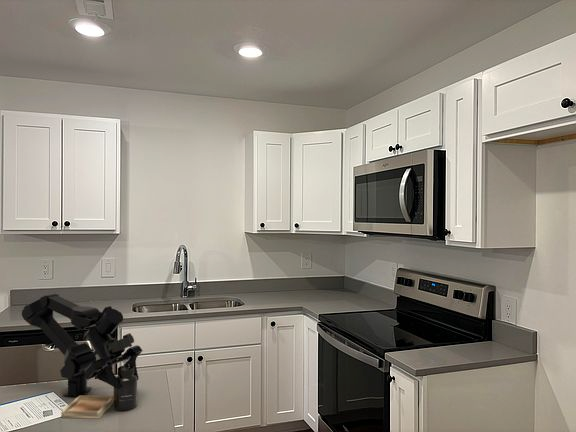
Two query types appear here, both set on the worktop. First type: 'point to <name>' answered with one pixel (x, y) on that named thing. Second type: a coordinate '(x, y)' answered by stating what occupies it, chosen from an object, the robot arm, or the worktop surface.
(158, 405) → the worktop surface
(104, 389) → the worktop surface
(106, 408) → the tray
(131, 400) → the supplement bottle
